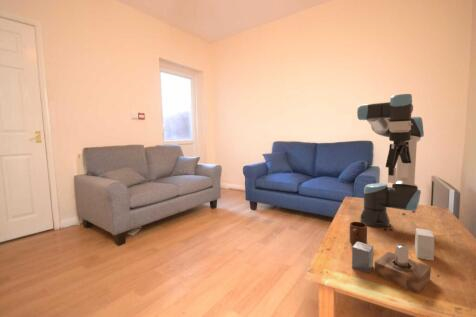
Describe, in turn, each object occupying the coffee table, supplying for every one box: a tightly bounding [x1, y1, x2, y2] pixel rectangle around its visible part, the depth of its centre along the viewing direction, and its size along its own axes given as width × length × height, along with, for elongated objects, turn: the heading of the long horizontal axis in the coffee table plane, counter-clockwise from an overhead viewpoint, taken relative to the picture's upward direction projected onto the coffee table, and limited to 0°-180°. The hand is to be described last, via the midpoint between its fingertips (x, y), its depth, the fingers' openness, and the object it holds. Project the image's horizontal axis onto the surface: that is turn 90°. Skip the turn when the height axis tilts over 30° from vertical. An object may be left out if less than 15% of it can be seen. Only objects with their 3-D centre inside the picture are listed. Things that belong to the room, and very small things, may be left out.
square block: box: [351, 242, 374, 275], centre depth 93 cm, size 6×6×9 cm
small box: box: [414, 227, 435, 261], centre depth 100 cm, size 8×6×10 cm
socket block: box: [373, 251, 432, 294], centre depth 86 cm, size 14×12×5 cm
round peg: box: [394, 243, 410, 269], centre depth 86 cm, size 4×4×12 cm
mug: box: [349, 221, 368, 246], centre depth 111 cm, size 12×8×9 cm, turn 139°
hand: (398, 180), depth 101 cm, fingers open, 13 cm apart
